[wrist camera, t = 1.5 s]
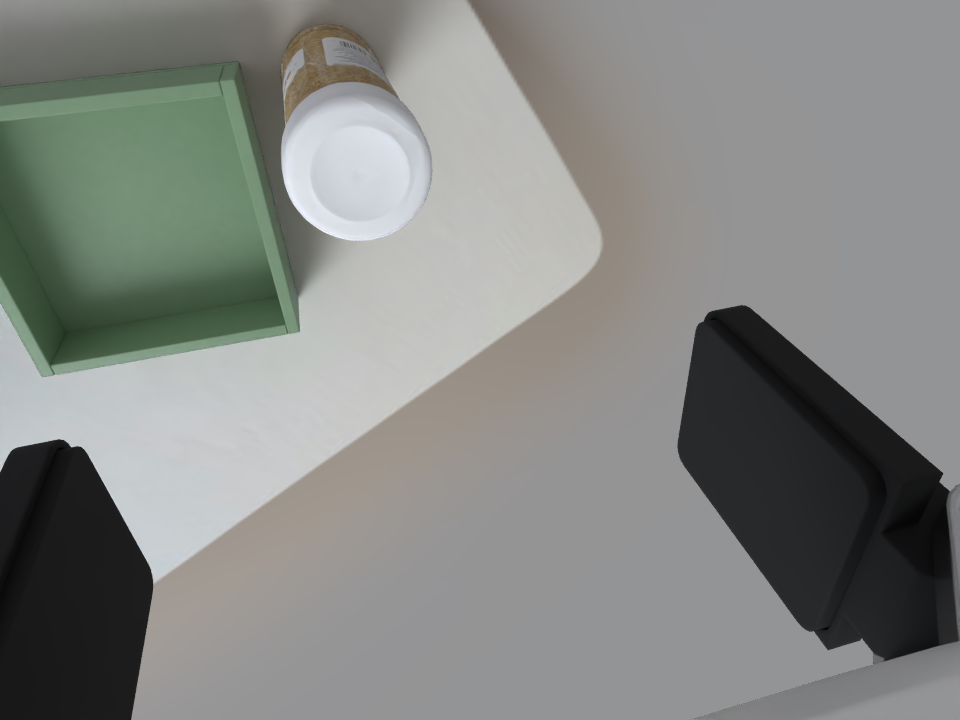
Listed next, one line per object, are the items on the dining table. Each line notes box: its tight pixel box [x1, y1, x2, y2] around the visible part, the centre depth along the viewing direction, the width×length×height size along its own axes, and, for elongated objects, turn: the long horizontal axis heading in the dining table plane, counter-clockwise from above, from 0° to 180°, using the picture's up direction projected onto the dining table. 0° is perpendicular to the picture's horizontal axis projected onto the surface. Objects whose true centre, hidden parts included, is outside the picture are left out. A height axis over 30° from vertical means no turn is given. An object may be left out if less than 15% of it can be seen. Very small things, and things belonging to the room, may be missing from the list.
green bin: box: [0, 62, 300, 377], centre depth 30 cm, size 12×12×4 cm
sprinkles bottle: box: [280, 24, 432, 241], centre depth 25 cm, size 5×5×13 cm
